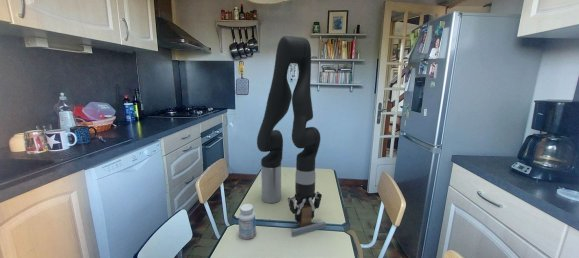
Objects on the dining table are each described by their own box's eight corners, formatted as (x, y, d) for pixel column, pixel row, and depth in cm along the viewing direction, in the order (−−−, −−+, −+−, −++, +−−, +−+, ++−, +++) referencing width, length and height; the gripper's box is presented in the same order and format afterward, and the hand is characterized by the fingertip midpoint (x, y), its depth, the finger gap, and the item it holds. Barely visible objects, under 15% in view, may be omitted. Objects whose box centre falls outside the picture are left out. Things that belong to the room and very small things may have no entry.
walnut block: (297, 223, 97) (297, 202, 95) (306, 221, 99) (307, 200, 97) (301, 229, 94) (302, 207, 92) (311, 226, 95) (311, 205, 93)
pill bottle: (248, 227, 95) (247, 201, 92) (259, 233, 91) (258, 206, 88) (235, 235, 90) (234, 207, 88) (246, 242, 86) (245, 213, 84)
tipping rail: (291, 234, 91) (291, 229, 90) (324, 225, 96) (324, 221, 96) (292, 236, 89) (292, 231, 89) (325, 227, 95) (325, 223, 94)
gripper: (317, 173, 98) (315, 211, 102) (284, 178, 93) (283, 218, 96) (327, 180, 92) (325, 221, 95) (292, 187, 86) (291, 229, 90)
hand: (304, 219), depth 96 cm, fingers open, 5 cm apart
